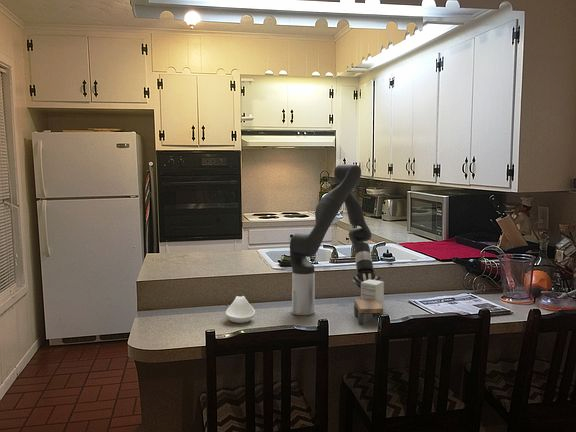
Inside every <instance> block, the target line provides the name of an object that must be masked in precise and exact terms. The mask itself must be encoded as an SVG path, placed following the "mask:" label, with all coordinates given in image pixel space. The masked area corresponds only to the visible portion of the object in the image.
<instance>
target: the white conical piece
mask: <svg viewBox="0 0 576 432" xmlns="http://www.w3.org/2000/svg"><path fill="white" fill-rule="evenodd" d="M255 315H256V311H255V308H254V307H253V306H252V305H251V304H250V303H249V301H248V300H247V298H246V297H245V295H242V296H238V295H236V296H235V299H234V300H233V301H232V303H231V304H230V305H229V306H228V308H227V309H226V310H225V317H227V319H228V320H229V321H230V322H233V323H234V324H235V323H237V324H243V323H247V322H249V321H251V320H252V319H253V318H254V317H255Z"/></svg>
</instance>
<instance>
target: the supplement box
mask: <svg viewBox="0 0 576 432" xmlns="http://www.w3.org/2000/svg"><path fill="white" fill-rule="evenodd" d="M360 282H361V281H360ZM384 289H385V281H382V280H380V281H377V280H375V279H374V280H370V279H369V280H366V281H364V282H361V289H360V299H376V300H377V301H378V302H379V304H380V305H381V306H382V307H383V311H384V310H385V309H384V308H385V307H384V306H385V305H384V304H385V302H384V300H385V299H384V298H385V297H384V296H385V295H384V293H385V290H384ZM370 314H371V315H372V313H370Z"/></svg>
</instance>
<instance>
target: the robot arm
mask: <svg viewBox="0 0 576 432" xmlns="http://www.w3.org/2000/svg"><path fill="white" fill-rule="evenodd" d="M333 175H334V180H335V183H336V185H337V186H335V187H334V188H333V189H331V190H329V191H328V192H327V193H325V194H324V195H323V196H322V197H321V199H320V201H319V202H318V204H317V205H316V208H315V211H314V217H315V224H314V227H313V228H312V230H311V231H310V233H299V232H298V233H294V234H293V235H292V236H291V238H290V241H289V259H290V266H291V270H292V271H291V272H292V279H291V281H292V282H291V283H292V289H291V297H292V298H291V302H292V303H291V304H292V306H291V311H292V315H297V316H310V315H311V316H312V315H314V314H315V309H316V307H315V279H316V278H315V275H316V274H315V265H314V264H313V263H311V262H310V260H308V259H307V258H311V257H313V256H315V255H316V254H317V253H318V251H319V249H320V247H321V245H322V242H323V240H324V238H325V236H326V234H327V232H328V230H329V228H330V227H331V225H332V224H333V223H332V222H333V221H334V220H335V218H337V215H338V214H339V212H340V209H341V208H342V206H343V204H344V205H345V209H346V212H347V217H348V221H349V224H350V226H353V227H354V226H355V227H354V228H352V229H350V230H349V232H348V238H349V240H350V242H351V244H352V247H353V249H354V256H355V257H354V258H355V266H356V275H355V276H353V277H352V283H353V284H355V285H356V286H357V287H358V288H359V289H360V290H361V282H364V281H366V280H369V279H370V280H377V281H381V278H382V277H381V276H377V275H376V273H375V271H374V264H373V258H372V255H371V250H370V245H369V244H368V243H367V242H369V241H371V238H372V231H371V230H370V227H369V226H368V224H367V222H366V219H365V217H364V212H363V208H362V205H361V203H360V202H359V200H358V199H357V197H356V196H355V195H354V194H353V190H354V189H355V187H356V186H357V185H358V183H359V181H360V180H361V178H362V177H361V176H362V168H361V167H360V166H359V165H358V164H355V163H341V164H337V165H336V166H335V168H334V171H333Z"/></svg>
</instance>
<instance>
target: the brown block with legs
mask: <svg viewBox="0 0 576 432" xmlns="http://www.w3.org/2000/svg"><path fill="white" fill-rule="evenodd" d="M353 299H354V298H353ZM353 304H354V305H353V314H354V315H353V316H354V317H355V318H357V321H358V325H364V324H365V314H371V313H372V314H371V315H372V317H376V322H377V324H378V318H379V316H380V315H383V316H384V310H383V307H382V306H381V305H380V304H379V302H378V301H377V300H376V299H361V298H360V299H358V298H356V299H354V300H353Z"/></svg>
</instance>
